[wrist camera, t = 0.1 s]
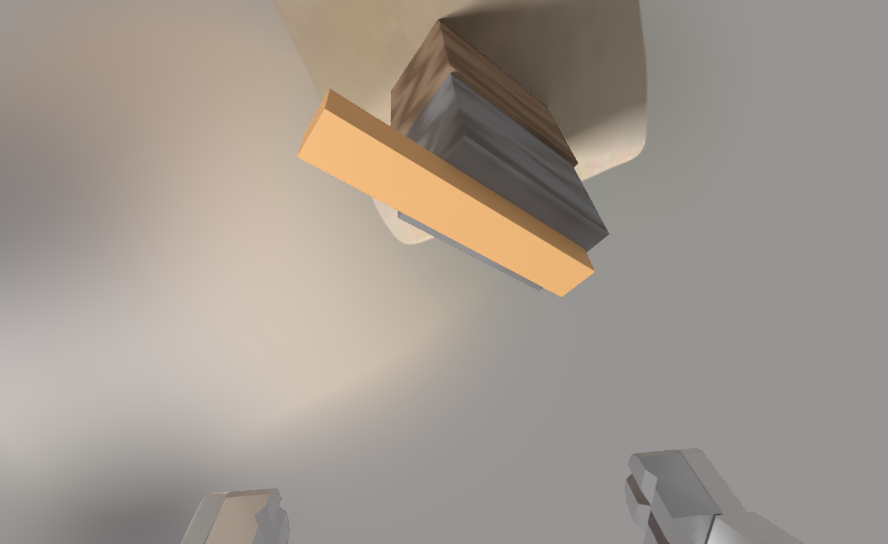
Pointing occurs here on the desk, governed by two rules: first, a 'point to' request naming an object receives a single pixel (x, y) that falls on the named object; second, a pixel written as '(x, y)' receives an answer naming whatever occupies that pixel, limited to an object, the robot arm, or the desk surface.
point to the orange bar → (438, 195)
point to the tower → (492, 138)
